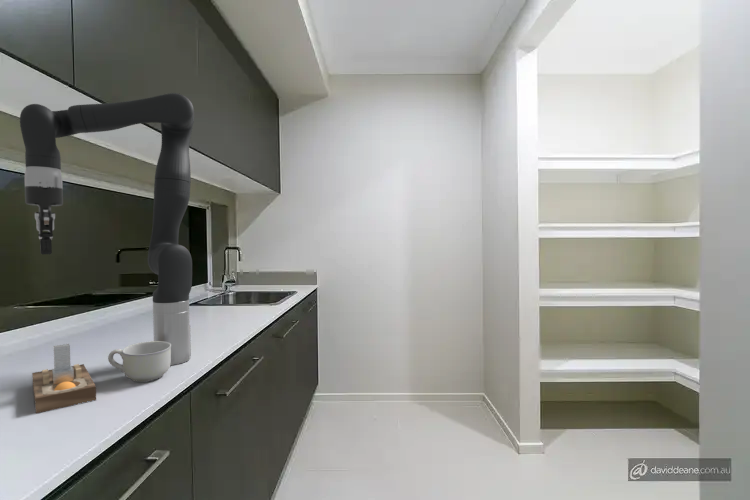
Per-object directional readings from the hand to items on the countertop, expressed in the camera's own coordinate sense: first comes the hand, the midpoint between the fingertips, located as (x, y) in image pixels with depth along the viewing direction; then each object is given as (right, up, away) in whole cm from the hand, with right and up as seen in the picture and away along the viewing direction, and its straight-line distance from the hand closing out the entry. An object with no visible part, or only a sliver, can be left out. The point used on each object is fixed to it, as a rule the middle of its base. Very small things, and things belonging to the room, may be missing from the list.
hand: (46, 254), depth 105 cm
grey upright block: (+15, -28, -13) cm, 34 cm away
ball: (+18, -29, -17) cm, 38 cm away
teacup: (+26, -31, -3) cm, 41 cm away
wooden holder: (+14, -31, -12) cm, 36 cm away
